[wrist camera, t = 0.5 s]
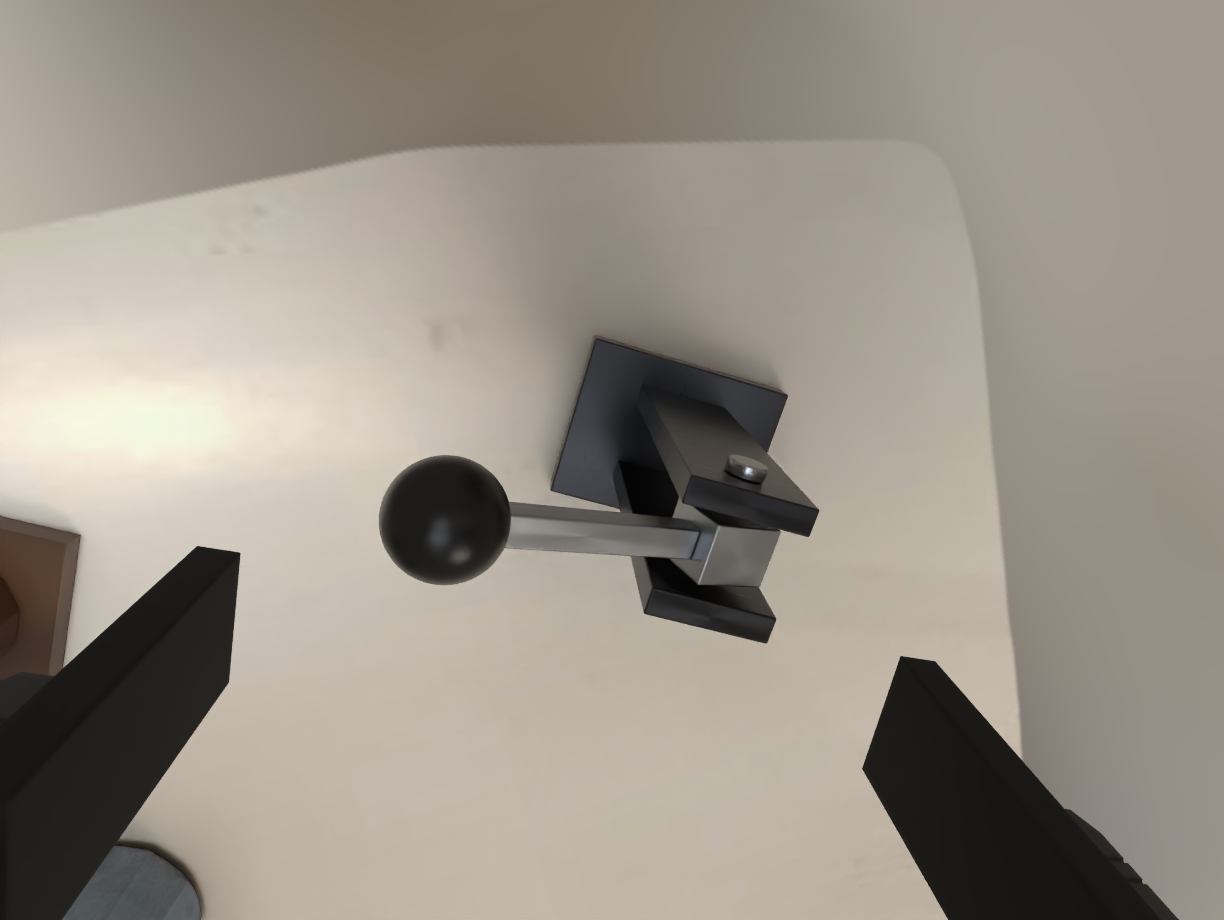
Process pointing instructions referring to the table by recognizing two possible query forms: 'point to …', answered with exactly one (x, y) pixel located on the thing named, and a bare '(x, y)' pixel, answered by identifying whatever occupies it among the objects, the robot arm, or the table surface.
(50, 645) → the control block
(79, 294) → the table surface
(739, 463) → the switch bracket
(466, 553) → the switch lever
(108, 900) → the moka pot
